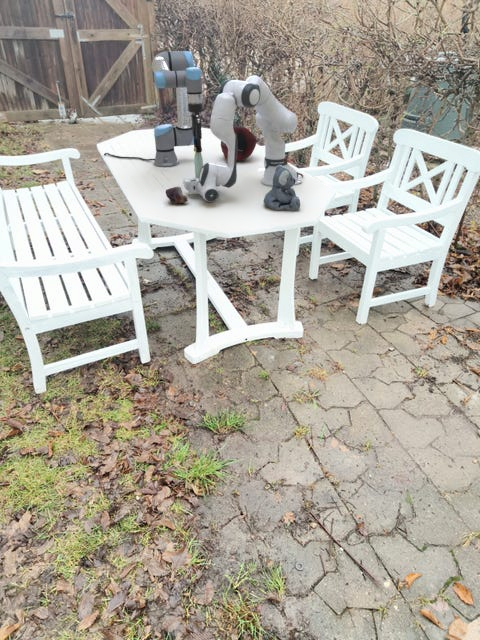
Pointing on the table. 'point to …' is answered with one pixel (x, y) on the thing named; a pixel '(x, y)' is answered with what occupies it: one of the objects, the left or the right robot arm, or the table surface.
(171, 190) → the rock
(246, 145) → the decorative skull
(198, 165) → the bottle
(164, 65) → the left robot arm
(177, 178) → the table surface
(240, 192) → the table surface
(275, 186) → the koala plush
